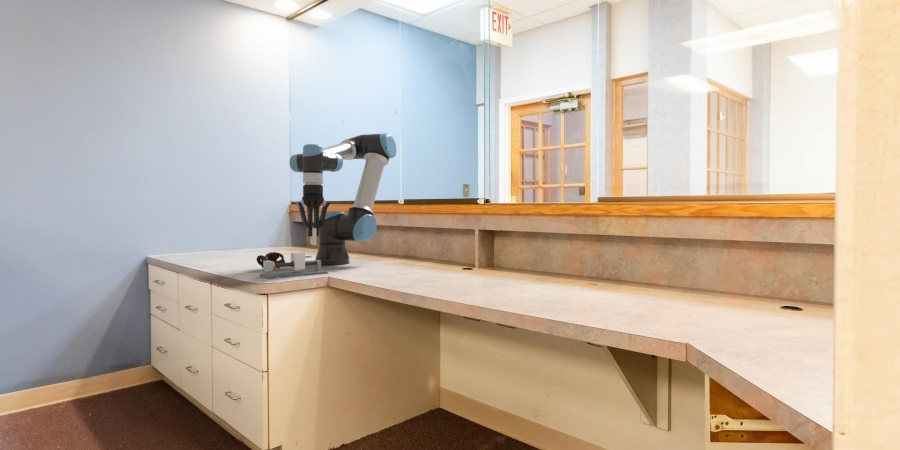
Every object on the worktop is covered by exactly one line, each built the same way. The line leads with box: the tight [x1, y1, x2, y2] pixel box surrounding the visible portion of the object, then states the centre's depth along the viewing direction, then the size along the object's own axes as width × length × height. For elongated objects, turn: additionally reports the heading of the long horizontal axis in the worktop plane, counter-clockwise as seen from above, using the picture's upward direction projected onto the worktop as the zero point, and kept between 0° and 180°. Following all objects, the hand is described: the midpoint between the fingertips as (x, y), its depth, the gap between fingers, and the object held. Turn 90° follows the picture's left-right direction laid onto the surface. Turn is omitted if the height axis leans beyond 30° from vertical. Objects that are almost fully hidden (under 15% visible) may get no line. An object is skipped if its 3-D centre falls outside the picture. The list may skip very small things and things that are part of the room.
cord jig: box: [259, 259, 329, 279], centre depth 196 cm, size 23×10×6 cm, turn 125°
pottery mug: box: [255, 251, 286, 269], centre depth 211 cm, size 12×10×8 cm
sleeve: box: [290, 251, 306, 271], centre depth 197 cm, size 4×5×6 cm
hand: (313, 244), depth 200 cm, fingers closed
